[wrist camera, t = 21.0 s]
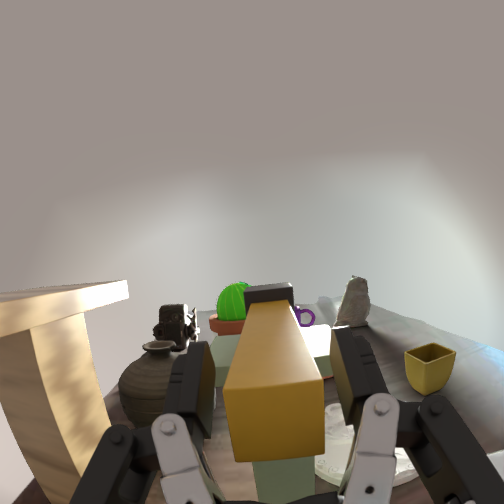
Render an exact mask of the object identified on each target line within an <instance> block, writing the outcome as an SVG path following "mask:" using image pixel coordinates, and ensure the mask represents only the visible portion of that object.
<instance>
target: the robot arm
mask: <svg viewBox="0 0 504 504" xmlns="http://www.w3.org/2000/svg"><path fill="white" fill-rule="evenodd" d="M329 354H330V363H331V367H332V371H333V375H334V379H335V383H336V387H337V391H338V396H339V400H340V404H341V408H342V412H343V417H344V421H345V426H349V425H353V429H354V435H353V439H352V444H351V448H350V452H349V457H348V461H347V465H346V468H345V472H344V475H343V478H342V481H341V484H340V487H339V490H338V494H337V491H335V492H329V493H324V494H317V495H310V496H307V497H304V498H301V499H298V500H295V501H292V502H289V503H286V504H389V502H390V497H391V492H392V487H393V482H394V477H395V471H396V464H397V457H396V456H395V448H403V449H404V451H405V452H406V454H407V456H408V457H409V459H410V461H411V463H412V464H413V466H414V468H415V470H416V471H417V473H418V475H419V477H420V478H421V480H422V482H423V484H424V485H425V487H426V489H427V491H428V493H429V494H430V496H431V498H432V500H433V502H434V503H435V504H504V481H503V479H502V478H501V476H500V475H499V473H498V471H497V470H496V468H495V467H494V465H493V464H492V462H491V461H490V459H489V458H488V456H487V454H486V453H485V451H484V450H483V449H482V447H481V446H480V444H479V443H478V441H477V440H476V438H475V437H474V435H473V434H472V432H471V431H470V430H469V428H468V427H467V425H466V424H465V423H464V421H463V420H462V418H461V417H460V416H459V414H458V413H457V411H456V410H455V409H454V407H453V406H452V405H451V403H450V402H449V401H448V399H446V398H445V397H443V396H441V395H430V396H428V397H426V398H425V399H424V400H423V401H422V402H403V401H400V400H397V399H396V398H395V397H393V396H392V395H391V394H390V393H389V392H388V389H387V387H386V384H385V381H384V379H383V376H382V373H381V371H380V368H379V366H378V363H377V360H376V358H375V355H374V353H373V350H372V348H371V345H370V343H369V342H368V341H367V340H366V339H365V338H364V337H363V336H357V337H353V334H352V331H351V329H350V327H349V326H343V327H337V328H332V329H331V339H330V352H329ZM215 379H216V369H215V363H214V360H213V357H212V354H211V351H210V348H209V345H208V342H207V341H198V342H190V343H189V345H188V350H187V354H179V355H178V356H177V358H176V359H175V361H174V362H173V364H172V368H171V375H170V378H169V383H168V387H167V392H166V397H165V402H164V407H163V412H162V414H161V416H159V417H158V418H157V419H156V420H155V421H154V422H153V424H152V425H150V426H147V427H142V428H138V429H133V430H130V429H129V428H128V427H127V426H125V425H121V424H117V425H113V426H111V427H109V428H108V429H106V431H105V432H104V434H103V436H102V437H101V439H100V441H99V443H98V445H97V447H96V449H95V451H94V453H93V455H92V457H91V459H90V461H89V463H88V465H87V467H86V469H85V471H84V473H83V475H82V477H81V479H80V481H79V483H78V485H77V487H76V490H75V492H74V494H73V496H72V498H71V500H70V502H69V504H144V502H145V500H146V497H147V495H148V492H149V490H150V487H151V485H152V482H153V480H154V477H155V475H156V472H157V470H161V471H162V477H160V483H161V487H162V490H163V494H164V497H165V500H166V503H167V504H268V503H262V502H256V501H226V499H225V497H224V495H223V493H222V491H221V490H220V488H219V486H218V484H217V482H216V480H215V477H214V475H213V473H212V470H211V468H210V465H209V463H208V460H207V458H206V455H205V452H204V450H203V439H211V430H212V417H213V404H214V391H215Z"/></svg>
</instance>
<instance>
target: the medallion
mask: <svg viewBox="0 0 504 504" xmlns="http://www.w3.org/2000/svg"><path fill="white" fill-rule="evenodd" d="M403 402H407V401H403ZM353 435H354V429H353V425H349V426H345V421H344V417H343V412H342V408H341V404H340V403H334V404H331V405H328V406H327V407H326V408H325V454H323V455H316V456H315V474H317V475H318V476H319V477H320V478H322V479H324V480H325V481H327V482H329V483H332V484H334V485H337V486H339V487H340V484H341V481H342V478H343V475H344V472H345V468H346V465H347V461H348V457H349V452H350V448H351V444H352V439H353ZM395 456H396V457H397V464H396V471H395V477H394V482H393V487H394V486H398V485H401V484H403V483H406V482H409V481H411V480H412V479H414V478H416V477H418V476H419V475H418V473H417V471H416V470H415V468H414V466H413V464H412V463H411V461H410V459H409V457H408V456H407V454H406V452H405V451H404V449H403V448H395Z"/></svg>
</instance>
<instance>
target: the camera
mask: <svg viewBox="0 0 504 504" xmlns="http://www.w3.org/2000/svg"><path fill="white" fill-rule="evenodd" d="M192 312H193V313H194V316H191V315H189V314H187V306H186V305H185V304H171V305H170V304H169V305H163V306H161V308H160V309H159V324H157V325H156V326H155V327H154V329H153V332H154V334H153V336H155V338H156V340H158V341H173V342H175V343H176V346H175V347H174V348H173V349H186V348H187V347H188V345H189V337H191V340H194V342H197V335H199V326H197V323H196V320H197V317H196V308H194V309H193V310H192Z"/></svg>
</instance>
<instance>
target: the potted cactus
mask: <svg viewBox="0 0 504 504" xmlns="http://www.w3.org/2000/svg"><path fill="white" fill-rule="evenodd" d="M249 286H251V285H248V284H247V283H245V284H244V283H243V282H239V283H236V284H232V285H230V286H228V287H226V288H225V289H224V290H223V291H222V292H221V294H220V296H219V298H218V302H217V314H215V315H212V316H211V317H210V318H209V323H210V329H211V330H212V331H213V332H216V333H218V336H226V335H238V334H241V333H242V329H243V326H244V323H245V320H246V313H245V304H244V296H243V292H244V290H245V289H246V287H249Z"/></svg>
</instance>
